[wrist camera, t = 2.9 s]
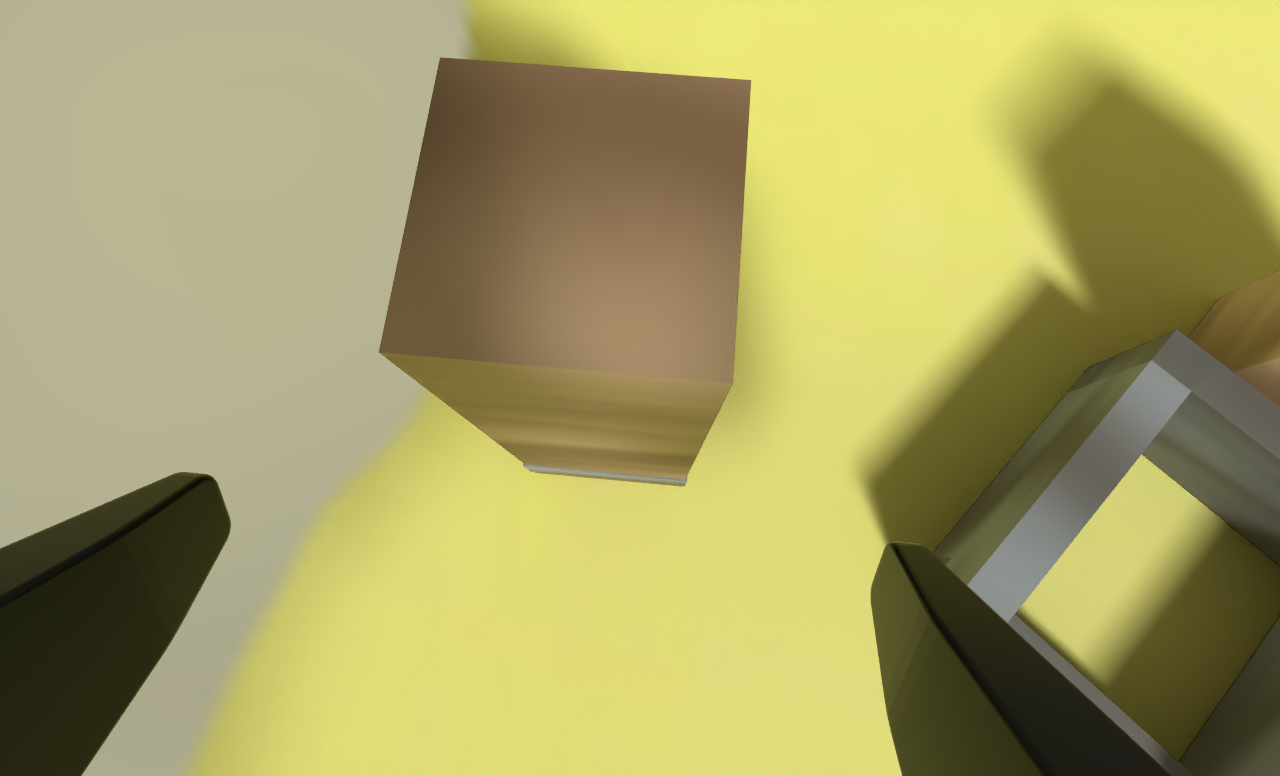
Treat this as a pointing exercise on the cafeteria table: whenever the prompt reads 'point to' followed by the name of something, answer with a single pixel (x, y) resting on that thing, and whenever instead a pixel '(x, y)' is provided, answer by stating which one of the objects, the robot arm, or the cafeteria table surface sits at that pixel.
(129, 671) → the robot arm
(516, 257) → the wooden block
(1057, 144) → the cafeteria table surface
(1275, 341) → the wooden fixture with frame
